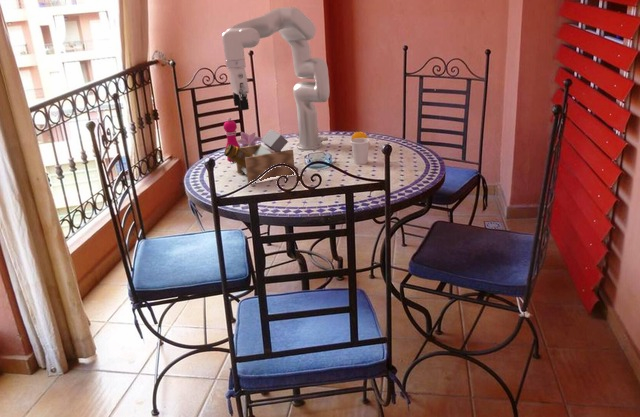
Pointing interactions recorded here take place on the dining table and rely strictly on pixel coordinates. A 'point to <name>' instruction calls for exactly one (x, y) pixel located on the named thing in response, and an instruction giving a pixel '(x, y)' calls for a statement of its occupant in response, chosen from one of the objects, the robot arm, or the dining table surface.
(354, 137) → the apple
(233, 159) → the condiment
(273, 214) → the dining table surface
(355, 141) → the dixie cup
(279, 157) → the stand
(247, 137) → the lily
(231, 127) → the pepper mill
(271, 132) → the trapdoor
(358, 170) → the dining table surface
